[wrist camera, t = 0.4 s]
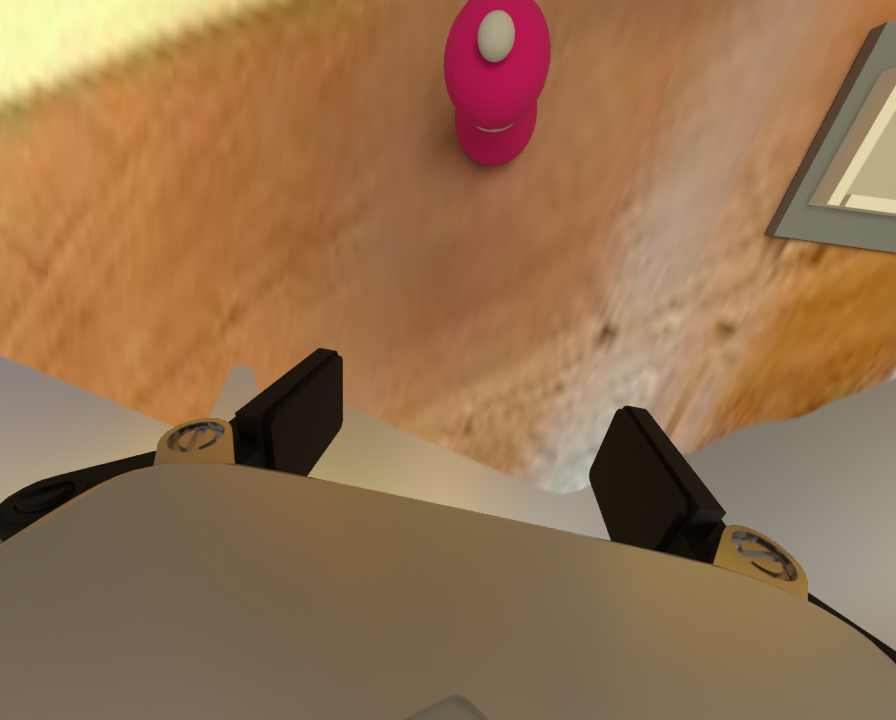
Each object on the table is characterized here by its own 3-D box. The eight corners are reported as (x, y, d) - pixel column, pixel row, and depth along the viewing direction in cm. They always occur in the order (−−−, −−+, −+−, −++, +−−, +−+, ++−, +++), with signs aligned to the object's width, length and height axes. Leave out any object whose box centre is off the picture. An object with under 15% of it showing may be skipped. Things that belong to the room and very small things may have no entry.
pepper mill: (448, 150, 34) (396, 80, 16) (480, 70, 31) (460, -132, 13) (508, 183, 34) (523, 151, 16) (545, 107, 31) (615, -36, 13)
